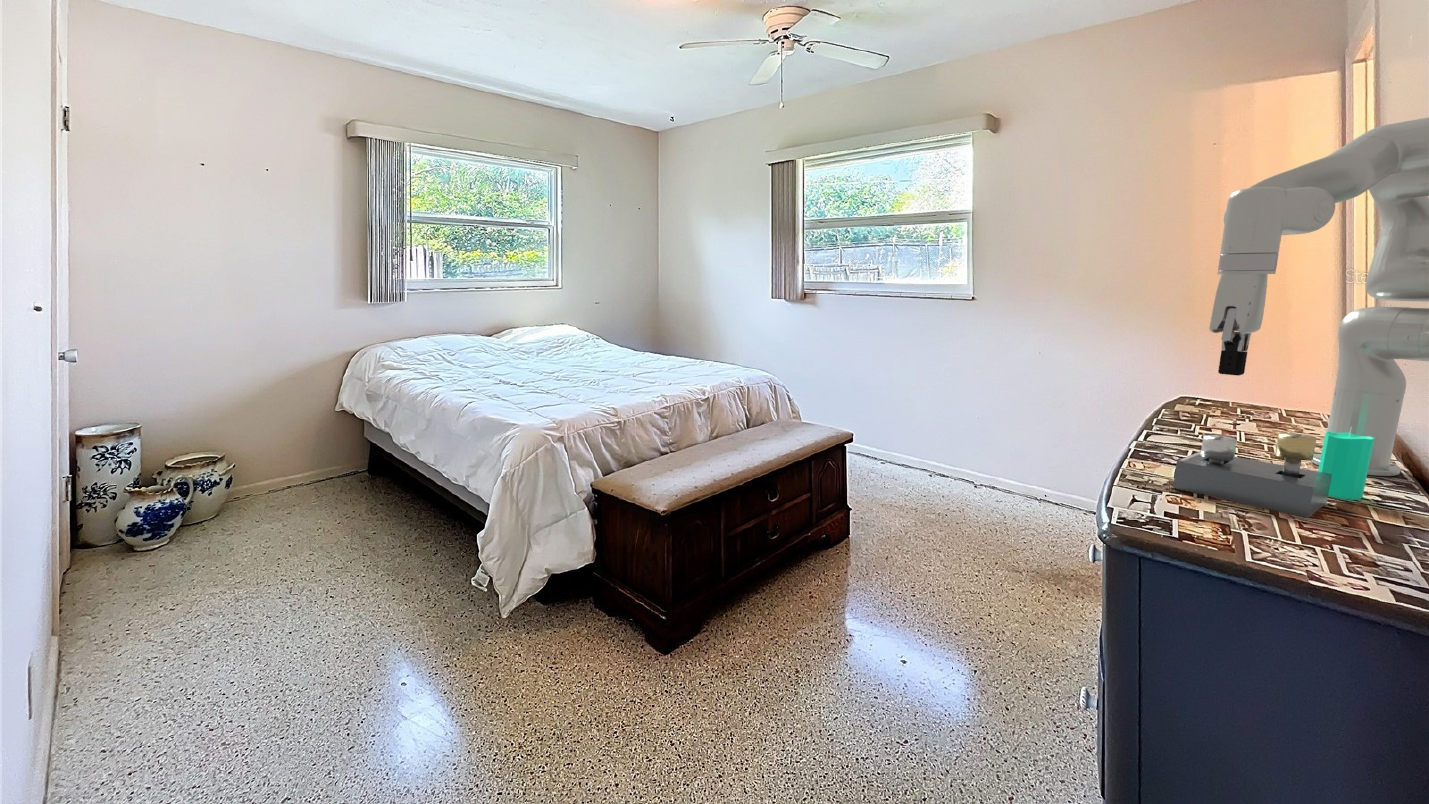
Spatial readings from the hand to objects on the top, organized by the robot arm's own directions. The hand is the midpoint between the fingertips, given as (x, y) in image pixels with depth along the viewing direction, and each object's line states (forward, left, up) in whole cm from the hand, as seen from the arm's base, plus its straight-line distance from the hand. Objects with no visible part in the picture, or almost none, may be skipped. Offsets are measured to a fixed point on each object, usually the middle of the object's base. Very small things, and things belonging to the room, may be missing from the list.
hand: (1230, 374), depth 109 cm
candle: (-14, +14, -21) cm, 28 cm away
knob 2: (0, +10, -17) cm, 20 cm away
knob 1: (0, 0, -19) cm, 19 cm away
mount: (0, +5, -20) cm, 21 cm away
